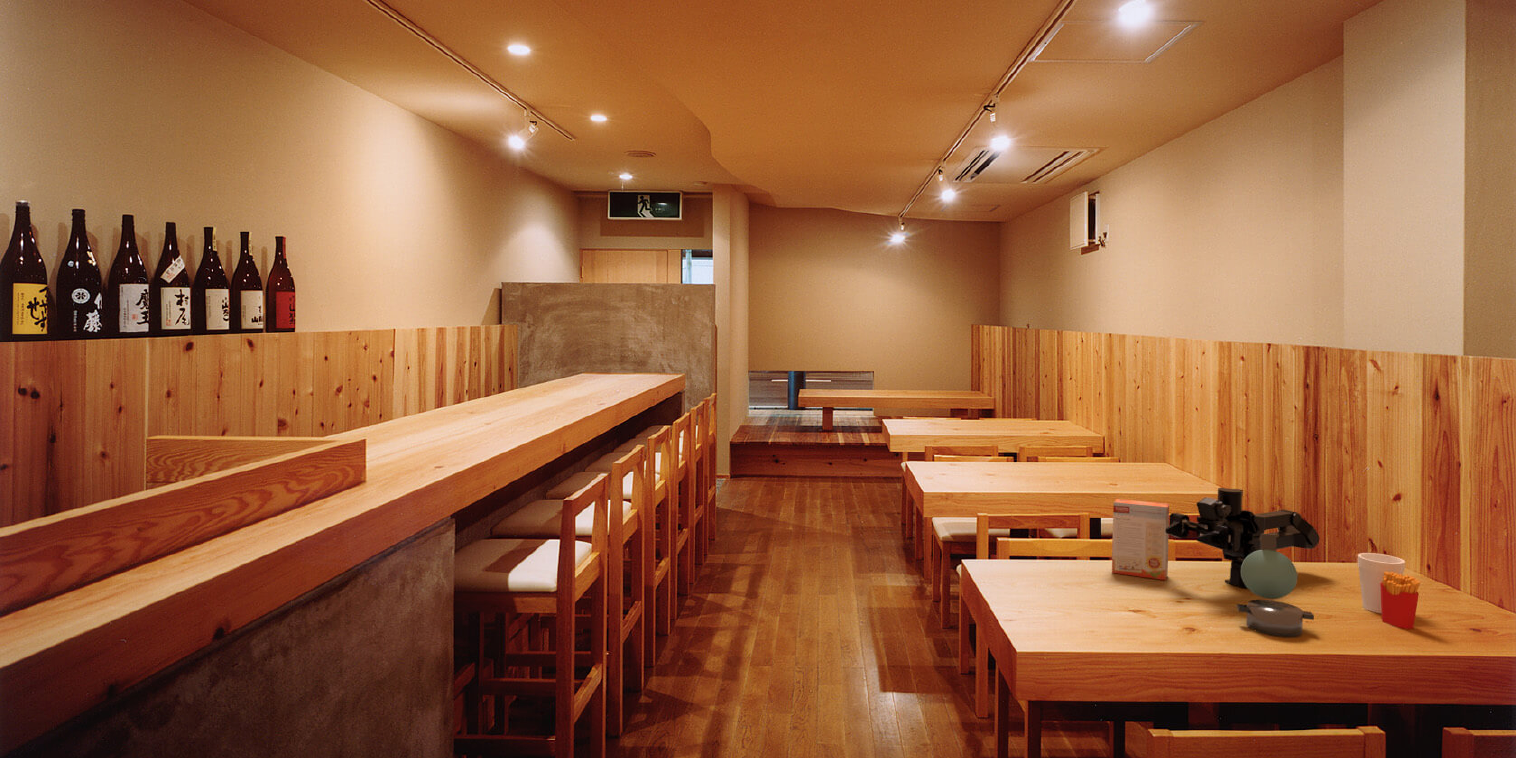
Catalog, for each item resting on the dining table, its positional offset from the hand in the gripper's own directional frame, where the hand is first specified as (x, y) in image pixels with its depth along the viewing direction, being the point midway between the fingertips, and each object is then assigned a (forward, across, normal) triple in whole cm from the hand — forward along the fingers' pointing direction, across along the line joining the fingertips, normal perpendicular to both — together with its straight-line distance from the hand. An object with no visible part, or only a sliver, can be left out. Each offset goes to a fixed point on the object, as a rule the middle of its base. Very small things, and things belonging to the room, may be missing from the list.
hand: (1181, 535), depth 210 cm
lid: (-6, +19, +4) cm, 21 cm away
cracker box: (-7, -18, +17) cm, 26 cm away
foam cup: (-37, +27, +17) cm, 49 cm away
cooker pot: (-1, +24, +17) cm, 29 cm away
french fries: (-30, +35, +17) cm, 49 cm away
